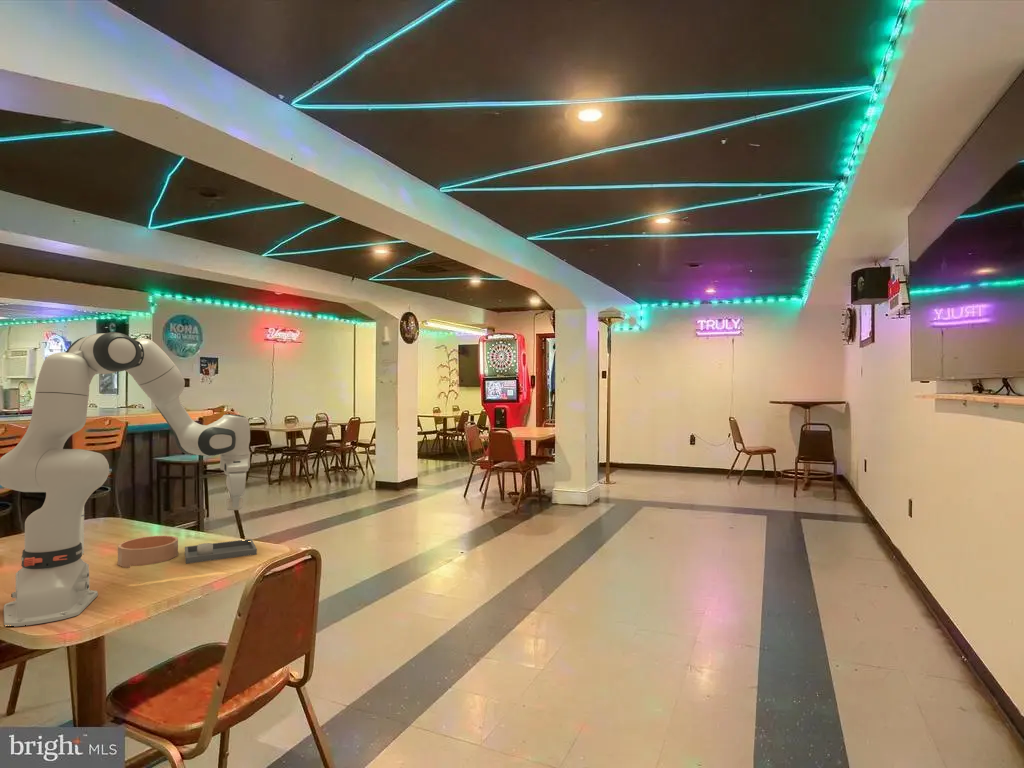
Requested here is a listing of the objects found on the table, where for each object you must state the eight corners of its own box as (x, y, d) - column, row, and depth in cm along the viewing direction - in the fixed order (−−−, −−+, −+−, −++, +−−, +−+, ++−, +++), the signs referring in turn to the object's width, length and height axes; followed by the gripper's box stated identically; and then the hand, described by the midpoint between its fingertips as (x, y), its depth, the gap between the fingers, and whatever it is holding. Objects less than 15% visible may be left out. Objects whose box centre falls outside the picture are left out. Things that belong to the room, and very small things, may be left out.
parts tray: (256, 556, 188) (256, 548, 188) (185, 566, 177) (185, 557, 177) (251, 546, 200) (251, 538, 200) (184, 554, 189) (184, 546, 189)
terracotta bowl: (178, 562, 181) (178, 545, 181) (116, 570, 172) (116, 552, 172) (177, 549, 194) (177, 533, 194) (119, 556, 186) (120, 539, 186)
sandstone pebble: (243, 509, 190) (243, 499, 190) (227, 510, 187) (227, 500, 187) (241, 506, 194) (241, 497, 194) (226, 508, 191) (226, 498, 191)
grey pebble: (213, 555, 185) (213, 545, 185) (197, 557, 183) (197, 547, 183) (212, 552, 189) (212, 542, 189) (196, 554, 187) (196, 544, 187)
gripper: (222, 460, 198) (221, 500, 198) (226, 467, 180) (226, 512, 180) (242, 459, 201) (241, 499, 201) (249, 466, 183) (248, 510, 183)
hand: (234, 505), depth 190 cm, fingers closed on sandstone pebble, 4 cm apart
